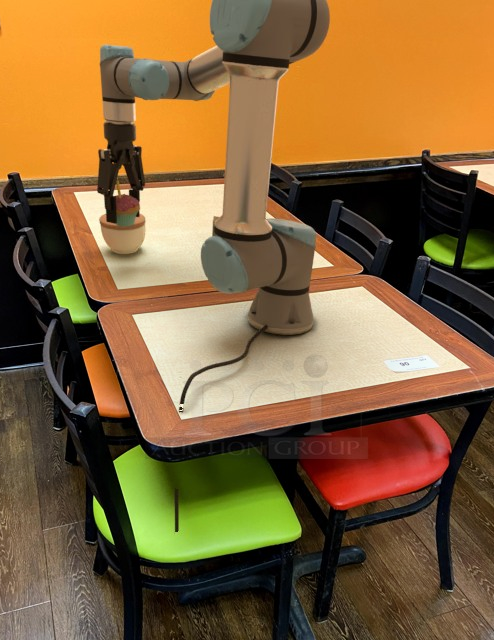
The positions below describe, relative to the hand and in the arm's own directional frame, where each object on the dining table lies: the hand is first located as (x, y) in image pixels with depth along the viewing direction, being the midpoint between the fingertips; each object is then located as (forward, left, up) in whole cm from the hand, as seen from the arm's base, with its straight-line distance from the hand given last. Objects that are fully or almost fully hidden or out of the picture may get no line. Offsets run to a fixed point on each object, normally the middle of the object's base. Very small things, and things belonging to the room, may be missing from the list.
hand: (123, 219), depth 146 cm
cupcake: (0, 0, -1) cm, 1 cm away
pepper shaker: (+32, -10, -12) cm, 36 cm away
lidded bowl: (+10, +8, -12) cm, 18 cm away
